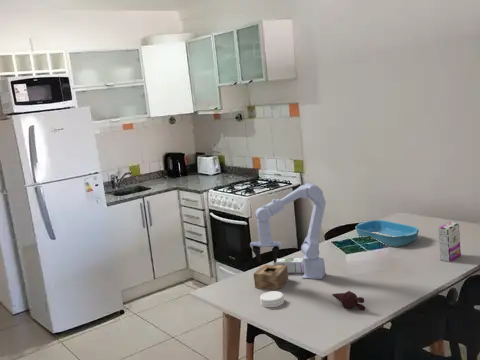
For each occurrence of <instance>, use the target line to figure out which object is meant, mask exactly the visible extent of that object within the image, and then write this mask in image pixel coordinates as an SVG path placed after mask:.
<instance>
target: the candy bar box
mask: <svg viewBox="0 0 480 360" xmlns="http://www.w3.org/2000/svg"><path fill="white" fill-rule="evenodd" d="M460 235H461V234H460V222H454V221H449V222H447V223H445V224H444V225H441V226H440V227H438V239H439V252H440V253H439V254H440V255H439V256H440V261H441V262H448V263H451V262H453V261H454V260H456V259H457V258H458V257H460V256H461V255H462V254H461V253H462V252H461V250H462V249H461V237H460Z"/></svg>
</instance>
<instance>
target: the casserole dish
mask: <svg viewBox="0 0 480 360" xmlns="http://www.w3.org/2000/svg"><path fill="white" fill-rule="evenodd" d="M355 230H356V233H357V235H358V236H359V237H360V236H361V237H363V236H371V237H373V238H375V239H377V240H379V241H381V242H382V243H384V244H387V245H390V246H389V247H392V246H399V247H402V246H404V245H405V246H406V245H408V244H411V243H412V241H413V242H414V241H416V239H417V237H418V234H419V231H420V228H418V227H416V226H413V225H409V224H403V223H400V222H395V221H390V220H384V219H375V220H366V221H362V222H360V223H358V224H356V226H355ZM372 232H379V233H382V234H387V235H390V236H385V235H380V234H376V233H372ZM392 236H395V237H392ZM361 237H360V238H361ZM407 243H408V244H407ZM387 245H386V246H387Z"/></svg>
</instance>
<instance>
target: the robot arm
mask: <svg viewBox="0 0 480 360" xmlns="http://www.w3.org/2000/svg"><path fill="white" fill-rule="evenodd" d="M299 198H302V199H308V198H309V199H310V201H311V202H312V204H313V207H312V211H311V217H310V219H309V225H308V226H309V227H308V230H307V231H308V232H307V235H306V236H305V238H304V241H303V242H302V244H301V246H300V250H301V252H302V253H303V256H302V258H303V262H304V272H303V273H304V274H303V275H302V276H301V278H302V279H313V280H314V279H315V280H322V279H323V277H324V276H325V275H326V268H325V267H326V264H325V260H324V258H322V257H321V256H320V249H319V247H320V244H319V236H320V232H321V228H322V227H321V226H322V224H323V223H322V222H323V217H324V212H325V209H326V200H325V195H324V193H323V190H322V189H321V187H319V186H318V185H315V184H314V183H312V182H306V183H304V184H301V185H300V186H298V187H297V188H295V189H294V190H293V191H291V192H290V193H288V194H287V195H286V196H284V197H282V198H281V199H279V198H273V199H272V200H271V201H270V202H269V203H266V204H264V205H262V206H261V207H259V208H257V209H256V210H255V213H254V216H255V218H256V223H257V235H258V241H252V242H250V243H249V246H250V248H252V252H253V253H254V255H255V257H256V260H257V262H258V263H261V262H262V256H261V248H272V249H271V251H272V255H273V264H274V263H276V262H277V259H278V255H279V250H280V248H281V247H282V242H281V241H273V240H272V233H271V223H270V220H271V217H273V216H274V215H276V214H279V213H280V212H281V211H283V210H284V208H285V206H286V205H289V204H290V203H292V202H294V201H296V200H297V199H299Z"/></svg>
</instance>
